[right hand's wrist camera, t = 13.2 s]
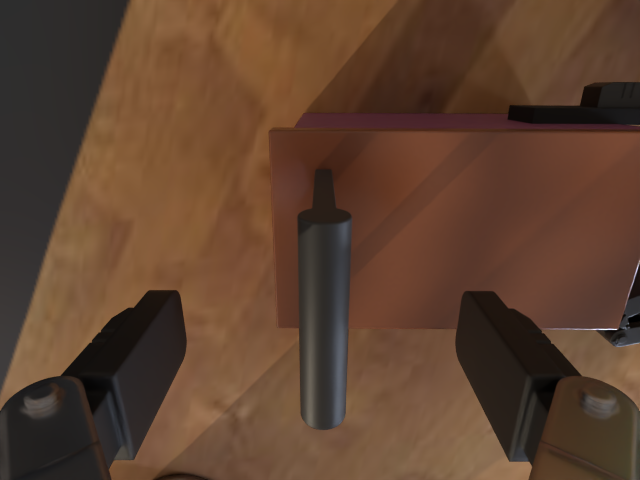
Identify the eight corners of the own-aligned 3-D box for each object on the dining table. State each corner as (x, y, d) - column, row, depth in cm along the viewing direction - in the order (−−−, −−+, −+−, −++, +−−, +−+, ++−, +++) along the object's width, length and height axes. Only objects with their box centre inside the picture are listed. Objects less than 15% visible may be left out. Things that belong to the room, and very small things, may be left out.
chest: (304, 242, 30) (297, 315, 20) (303, 112, 26) (293, 127, 17) (512, 243, 30) (602, 317, 20) (537, 113, 26) (659, 128, 17)
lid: (279, 316, 20) (251, 465, 12) (271, 127, 17) (227, 163, 9) (603, 317, 20) (786, 467, 12) (660, 128, 17) (962, 166, 9)
